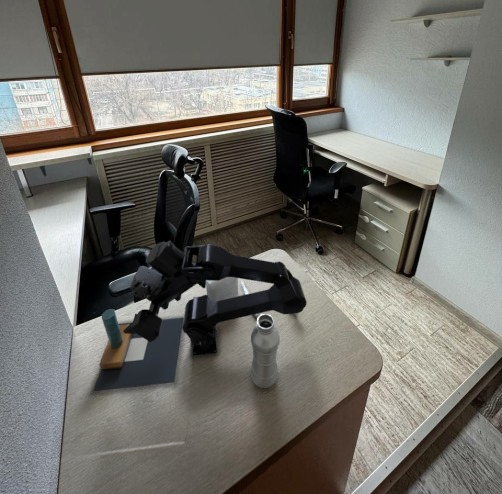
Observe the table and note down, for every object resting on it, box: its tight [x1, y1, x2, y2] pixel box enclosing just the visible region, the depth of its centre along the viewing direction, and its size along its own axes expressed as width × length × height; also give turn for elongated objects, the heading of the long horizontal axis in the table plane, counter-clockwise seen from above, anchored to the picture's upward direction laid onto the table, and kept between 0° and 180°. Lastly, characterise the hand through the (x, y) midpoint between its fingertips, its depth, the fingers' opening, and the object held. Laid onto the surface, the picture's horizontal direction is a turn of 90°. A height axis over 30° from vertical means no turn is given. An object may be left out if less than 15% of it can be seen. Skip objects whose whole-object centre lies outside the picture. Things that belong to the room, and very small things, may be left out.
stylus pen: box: [240, 279, 260, 318], centre depth 87 cm, size 15×3×2 cm, turn 22°
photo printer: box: [205, 277, 239, 301], centre depth 84 cm, size 10×4×12 cm, turn 123°
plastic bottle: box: [250, 313, 281, 389], centre depth 63 cm, size 6×7×20 cm
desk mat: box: [92, 317, 184, 392], centre depth 72 cm, size 19×17×1 cm
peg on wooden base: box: [98, 308, 133, 371], centre depth 70 cm, size 5×10×14 cm, turn 6°
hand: (130, 314), depth 68 cm, fingers open, 9 cm apart
